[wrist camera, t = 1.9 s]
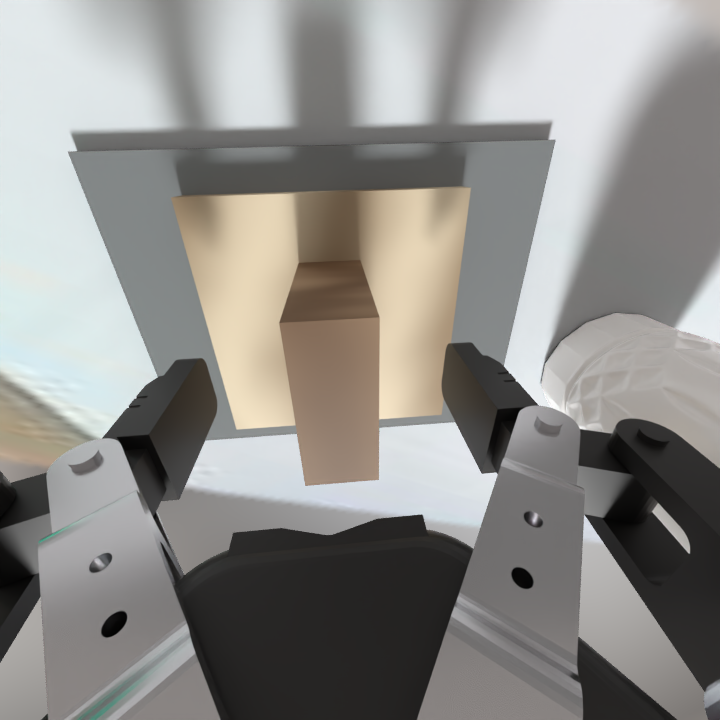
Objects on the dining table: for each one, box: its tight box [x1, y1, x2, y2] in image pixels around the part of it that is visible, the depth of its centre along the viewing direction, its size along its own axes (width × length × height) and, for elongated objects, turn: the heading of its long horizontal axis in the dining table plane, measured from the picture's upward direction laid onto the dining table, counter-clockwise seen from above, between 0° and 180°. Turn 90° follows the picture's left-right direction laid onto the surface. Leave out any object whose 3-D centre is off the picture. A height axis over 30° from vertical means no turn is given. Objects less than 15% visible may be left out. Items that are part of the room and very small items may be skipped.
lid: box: [171, 186, 471, 486], centre depth 13 cm, size 11×11×7 cm
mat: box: [68, 140, 555, 440], centre depth 16 cm, size 18×14×1 cm
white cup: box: [541, 313, 720, 553], centre depth 15 cm, size 8×8×10 cm
